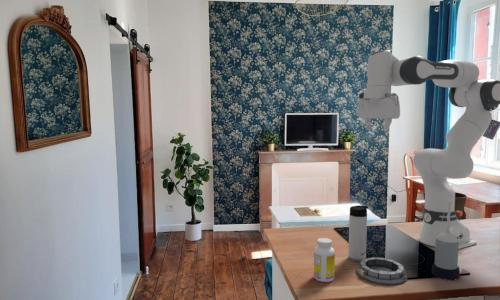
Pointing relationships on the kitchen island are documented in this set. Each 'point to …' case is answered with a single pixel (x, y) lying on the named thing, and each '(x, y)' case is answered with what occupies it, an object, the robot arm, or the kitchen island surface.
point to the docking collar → (382, 271)
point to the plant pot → (459, 203)
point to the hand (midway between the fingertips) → (377, 130)
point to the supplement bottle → (324, 260)
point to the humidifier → (446, 253)
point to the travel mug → (357, 233)
